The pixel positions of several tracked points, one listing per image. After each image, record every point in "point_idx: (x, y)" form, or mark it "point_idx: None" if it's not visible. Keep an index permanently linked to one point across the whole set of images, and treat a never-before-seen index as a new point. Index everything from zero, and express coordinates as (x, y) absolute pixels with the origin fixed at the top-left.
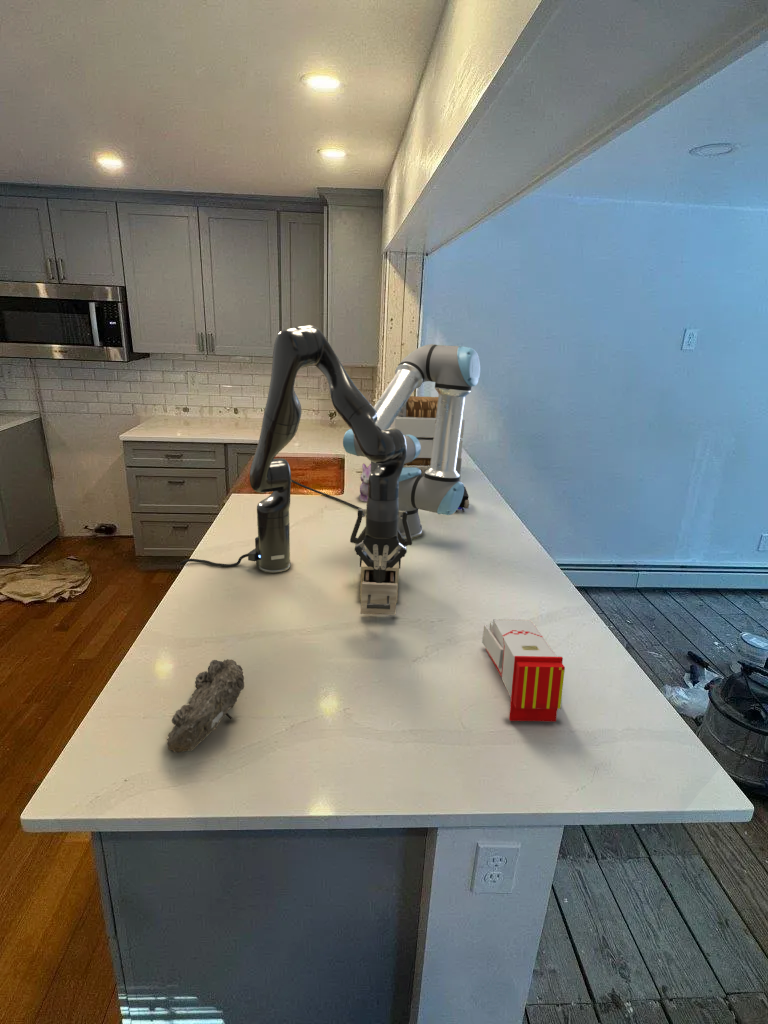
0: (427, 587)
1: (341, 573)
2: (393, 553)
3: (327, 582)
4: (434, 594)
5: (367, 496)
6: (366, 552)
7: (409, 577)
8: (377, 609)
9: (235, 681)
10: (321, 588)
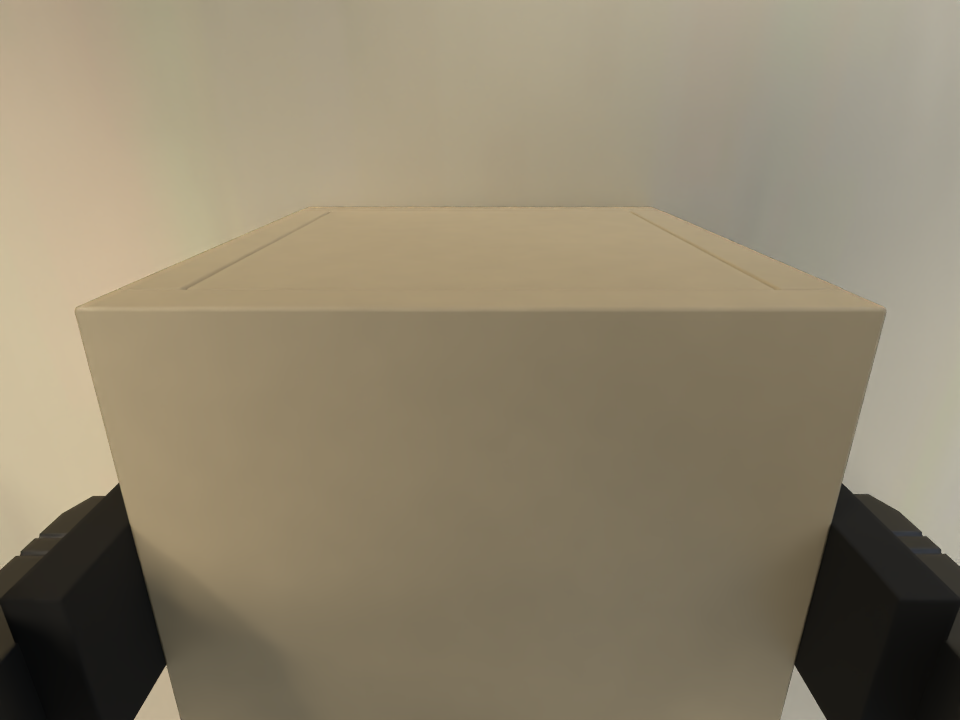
0: (903, 399)
1: (84, 189)
2: (697, 713)
3: (22, 387)
4: (921, 504)
5: None
6: (242, 715)
7: (786, 215)
8: None
9: None
10: (16, 487)
